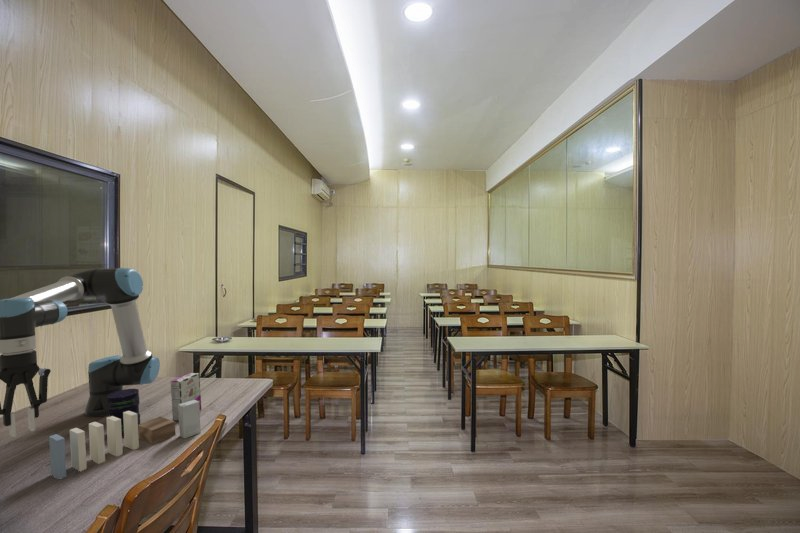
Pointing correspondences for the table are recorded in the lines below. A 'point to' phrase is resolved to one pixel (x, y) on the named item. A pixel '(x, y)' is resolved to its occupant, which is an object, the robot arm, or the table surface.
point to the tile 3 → (114, 436)
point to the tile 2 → (96, 442)
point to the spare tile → (57, 456)
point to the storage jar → (123, 404)
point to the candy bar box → (185, 392)
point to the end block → (156, 430)
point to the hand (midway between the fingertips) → (22, 432)
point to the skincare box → (189, 418)
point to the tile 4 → (130, 430)
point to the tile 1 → (78, 449)
